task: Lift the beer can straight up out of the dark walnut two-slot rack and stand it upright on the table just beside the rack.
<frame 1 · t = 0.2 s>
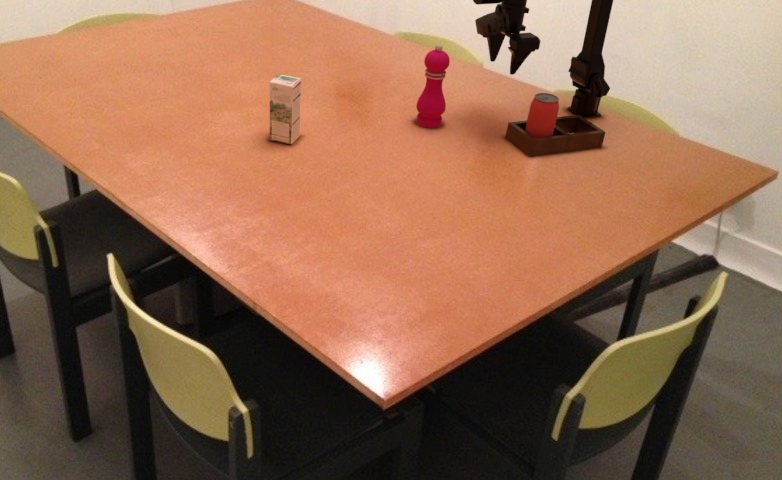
hand: (502, 67, 187), 15 cm above the table, tool pointing down, fingers open, 9 cm apart
beer can: (536, 145, 187), resting in can rack
pepper mill: (428, 123, 194), on the table
syrup box: (284, 139, 182), on the table
can rack: (553, 142, 188), on the table
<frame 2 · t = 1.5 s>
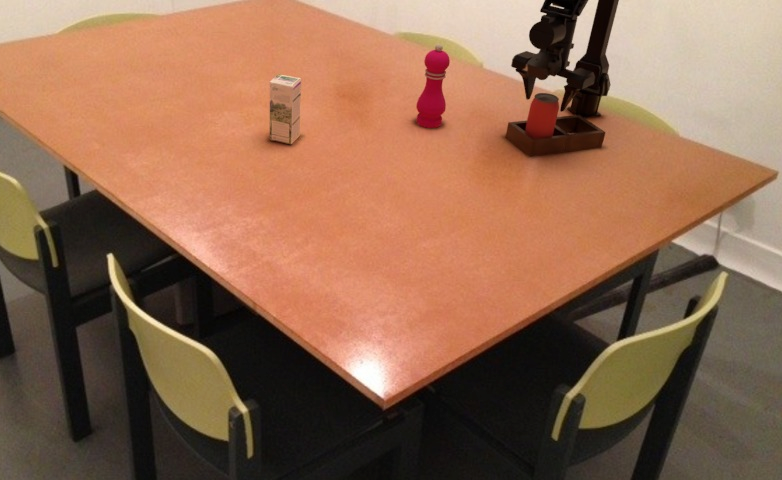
hand: (544, 105, 181), 10 cm above the table, tool pointing down, fingers open, 9 cm apart
nothing on the table moved.
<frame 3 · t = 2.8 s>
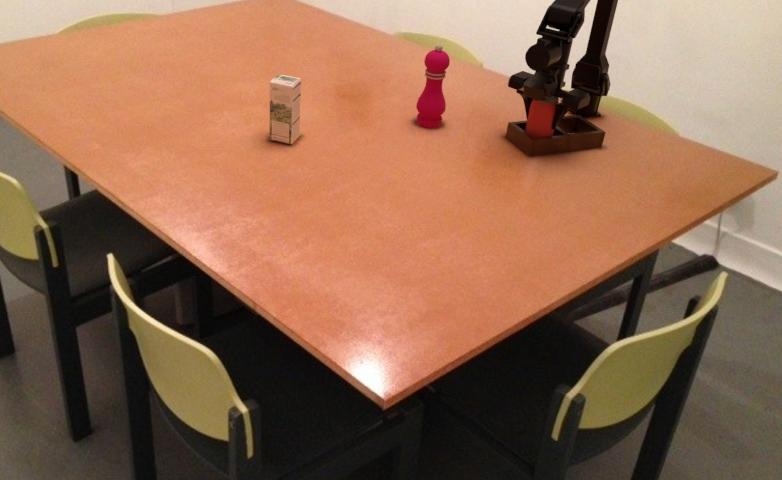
hand: (540, 124, 184), 5 cm above the table, tool pointing down, fingers closed on beer can, 6 cm apart
beer can: (536, 145, 187), resting in can rack, touching gripper
everything else where it was.
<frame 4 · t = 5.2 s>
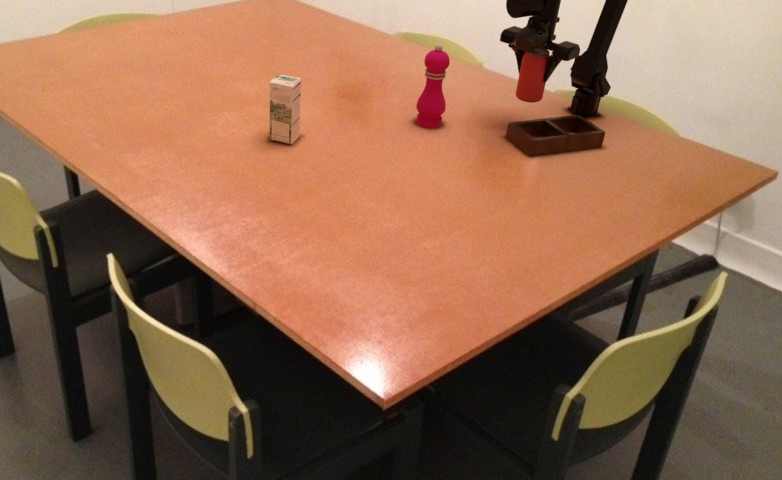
hand: (532, 78, 188), 13 cm above the table, tool pointing down, fingers closed on beer can, 6 cm apart
beer can: (528, 99, 191), point 7 cm above the table, touching gripper
everything else where it was.
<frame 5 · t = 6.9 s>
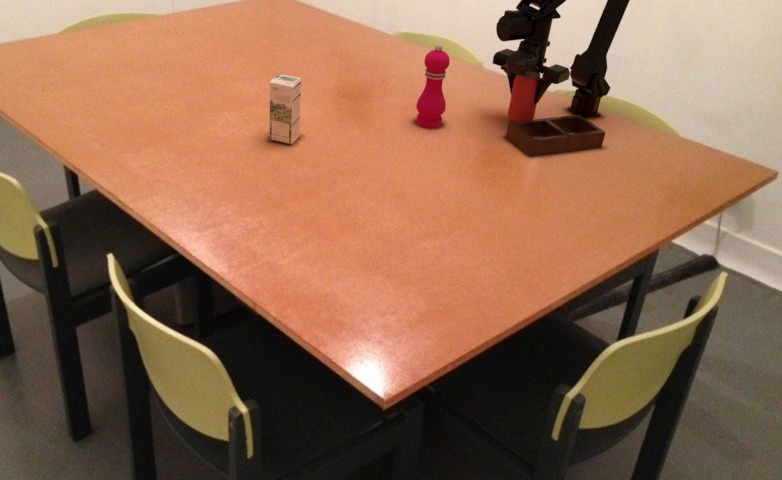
hand: (524, 99, 193), 6 cm above the table, tool pointing down, fingers closed on beer can, 6 cm apart
beer can: (520, 119, 196), point 1 cm above the table, touching gripper
everything else where it was.
when the fingers open (5 cm above the table, at t = 7.8 s): beer can stays where it is, on the table.
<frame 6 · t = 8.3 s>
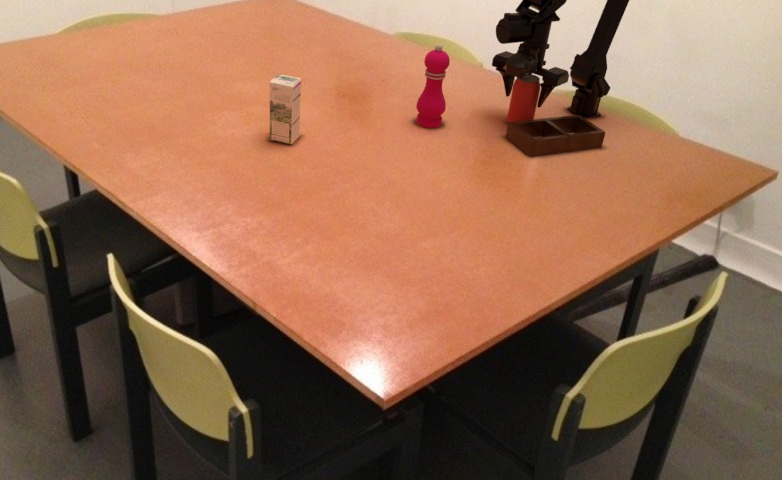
hand: (523, 101, 194), 6 cm above the table, tool pointing down, fingers open, 9 cm apart
beer can: (519, 123, 197), on the table
everything else where it was.
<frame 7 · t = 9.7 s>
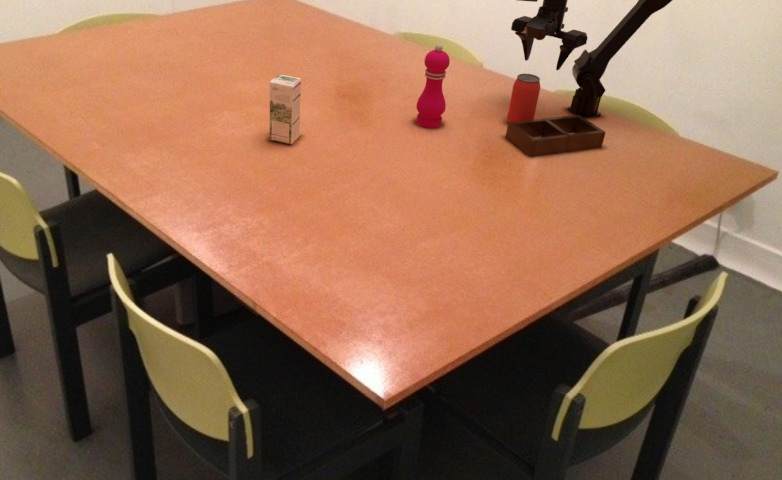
hand: (541, 65, 199), 12 cm above the table, tool pointing down, fingers open, 9 cm apart
nothing on the table moved.
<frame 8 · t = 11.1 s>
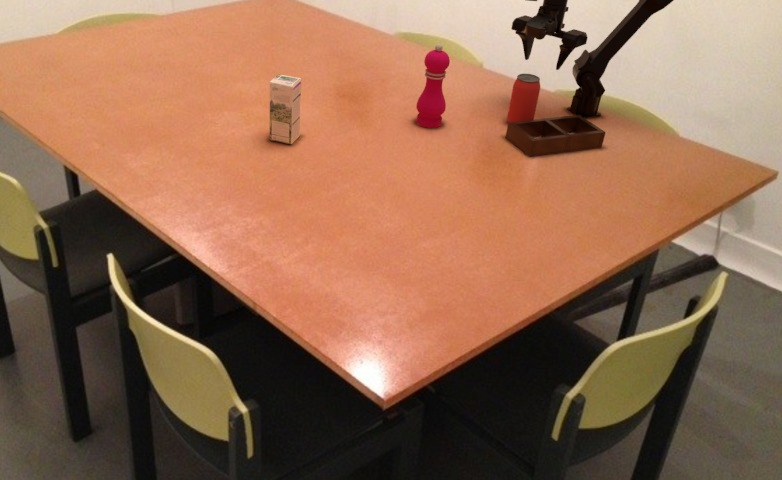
hand: (541, 64, 199), 12 cm above the table, tool pointing down, fingers open, 9 cm apart
nothing on the table moved.
at the end: beer can inside the target area (0.1 cm from its centre), on the table; beer can tilted 0°; beer can touching table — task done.
